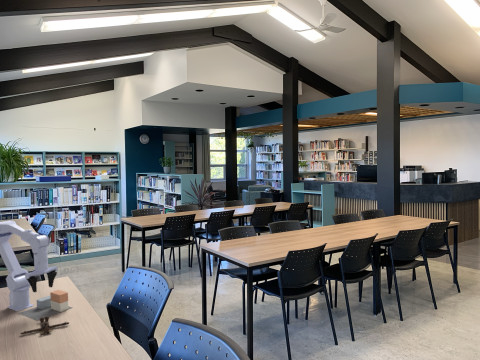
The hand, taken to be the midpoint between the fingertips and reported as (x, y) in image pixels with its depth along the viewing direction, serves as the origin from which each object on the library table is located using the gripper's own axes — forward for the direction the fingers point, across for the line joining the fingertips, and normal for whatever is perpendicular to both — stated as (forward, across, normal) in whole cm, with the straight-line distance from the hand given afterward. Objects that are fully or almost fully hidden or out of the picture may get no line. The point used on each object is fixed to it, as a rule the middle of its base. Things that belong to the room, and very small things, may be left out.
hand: (42, 289), depth 172 cm
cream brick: (+10, +5, -5) cm, 12 cm away
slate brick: (+10, +4, +4) cm, 12 cm away
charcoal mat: (+10, 0, -1) cm, 10 cm away
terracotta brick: (+6, +5, -5) cm, 9 cm away
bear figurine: (+11, -10, -19) cm, 25 cm away
